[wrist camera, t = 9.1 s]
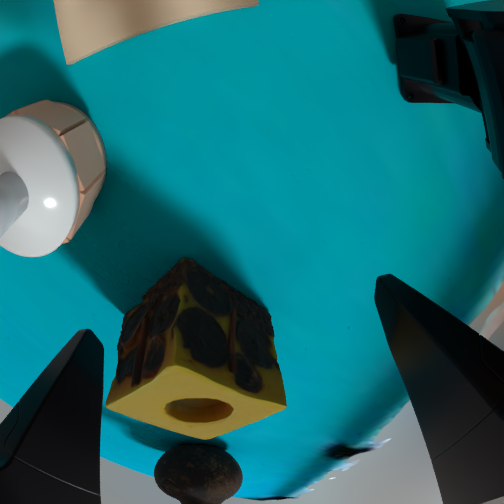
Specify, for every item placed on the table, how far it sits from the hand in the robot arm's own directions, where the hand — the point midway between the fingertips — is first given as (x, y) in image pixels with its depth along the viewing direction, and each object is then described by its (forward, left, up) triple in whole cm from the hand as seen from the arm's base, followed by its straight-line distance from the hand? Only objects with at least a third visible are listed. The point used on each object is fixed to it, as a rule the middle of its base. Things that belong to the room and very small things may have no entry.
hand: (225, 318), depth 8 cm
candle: (+6, +13, -13) cm, 20 cm away
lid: (+12, -4, -8) cm, 15 cm away
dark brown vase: (+20, +54, -13) cm, 59 cm away
